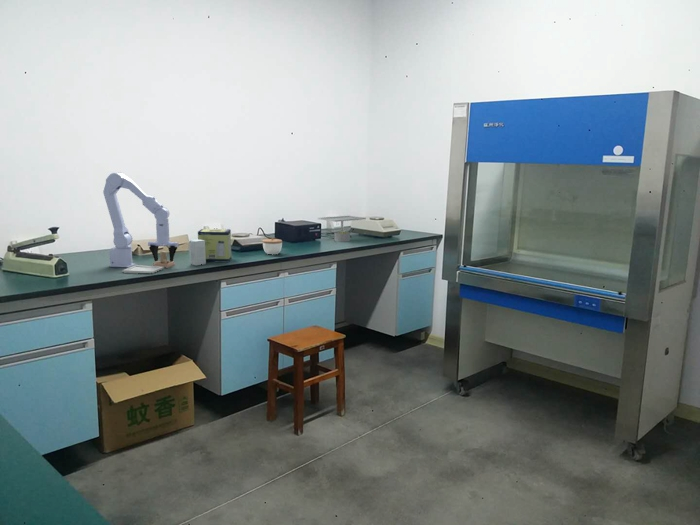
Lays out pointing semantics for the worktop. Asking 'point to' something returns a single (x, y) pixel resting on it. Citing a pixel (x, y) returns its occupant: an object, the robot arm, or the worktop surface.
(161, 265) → the pin cup
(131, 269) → the tray
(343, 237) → the solar panel model
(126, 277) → the worktop surface
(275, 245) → the lidded jar
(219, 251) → the protein box
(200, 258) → the skincare box
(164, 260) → the dowel pin
